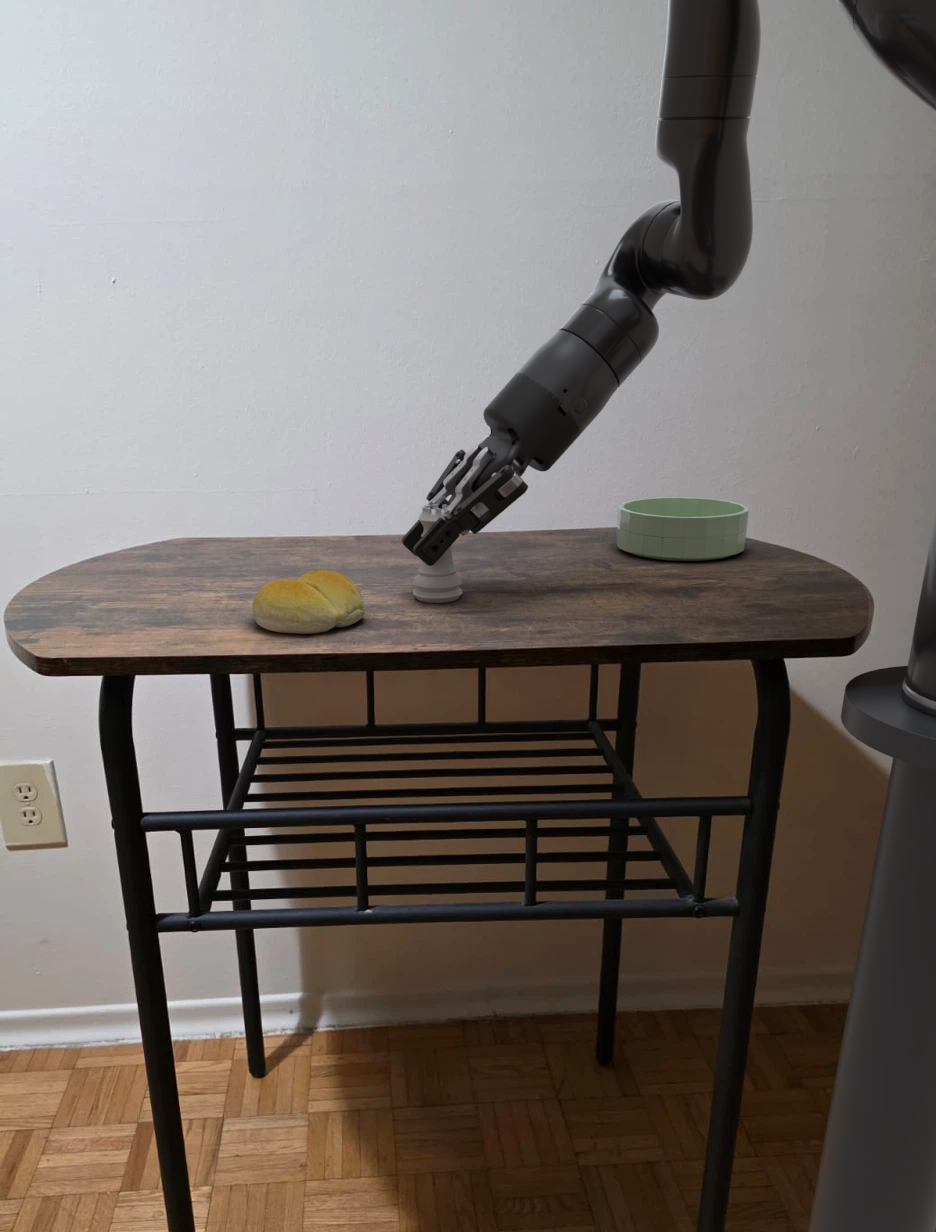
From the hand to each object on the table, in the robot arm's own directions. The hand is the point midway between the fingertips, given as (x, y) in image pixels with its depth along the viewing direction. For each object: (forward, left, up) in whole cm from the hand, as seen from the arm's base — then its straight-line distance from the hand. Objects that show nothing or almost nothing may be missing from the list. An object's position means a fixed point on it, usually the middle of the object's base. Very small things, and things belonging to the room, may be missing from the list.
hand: (415, 553), depth 84 cm
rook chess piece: (0, -2, -4) cm, 5 cm away
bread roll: (-4, +10, -4) cm, 12 cm away
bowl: (+11, -32, -4) cm, 34 cm away
